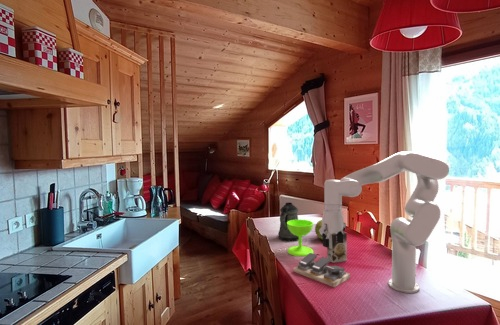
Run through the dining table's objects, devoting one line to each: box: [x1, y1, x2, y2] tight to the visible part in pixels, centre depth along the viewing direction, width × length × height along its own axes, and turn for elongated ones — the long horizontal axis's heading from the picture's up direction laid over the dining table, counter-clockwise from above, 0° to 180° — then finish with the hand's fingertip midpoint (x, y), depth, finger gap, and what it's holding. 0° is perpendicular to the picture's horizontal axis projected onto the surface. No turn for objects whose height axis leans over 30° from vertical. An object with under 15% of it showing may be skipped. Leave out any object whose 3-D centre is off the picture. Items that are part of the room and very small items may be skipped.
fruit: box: [314, 219, 328, 241], centre depth 202 cm, size 16×14×15 cm
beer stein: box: [277, 202, 299, 242], centre depth 206 cm, size 16×19×25 cm
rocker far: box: [298, 253, 318, 267], centre depth 154 cm, size 10×4×1 cm, turn 132°
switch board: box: [293, 260, 351, 288], centre depth 148 cm, size 14×24×5 cm, turn 42°
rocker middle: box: [311, 256, 331, 272], centre depth 148 cm, size 10×4×1 cm, turn 132°
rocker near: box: [325, 265, 345, 272], centre depth 142 cm, size 10×4×1 cm, turn 132°
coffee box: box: [326, 231, 348, 264], centre depth 166 cm, size 9×6×16 cm
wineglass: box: [286, 219, 315, 257], centre depth 180 cm, size 16×16×18 cm
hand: (333, 244), depth 133 cm, fingers open, 9 cm apart
